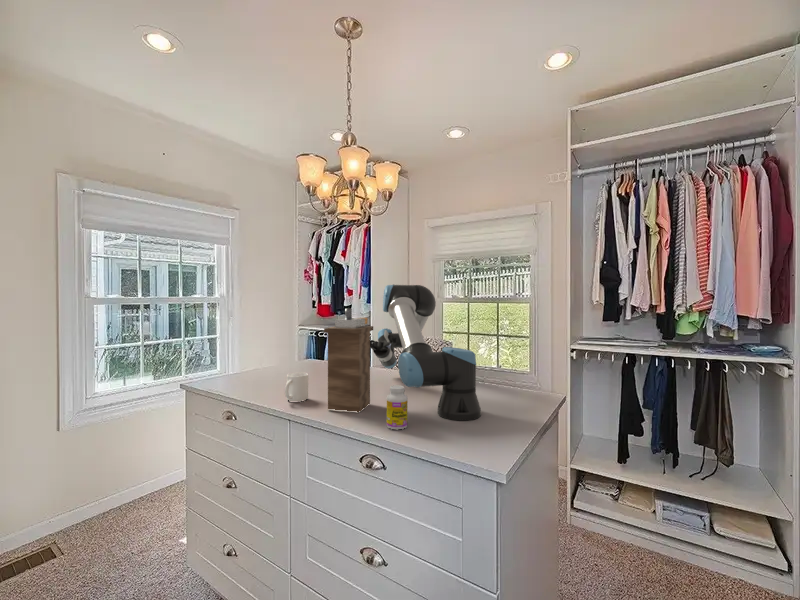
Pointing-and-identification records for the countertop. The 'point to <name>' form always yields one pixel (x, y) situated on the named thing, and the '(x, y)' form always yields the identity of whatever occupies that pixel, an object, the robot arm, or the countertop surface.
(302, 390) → the mug
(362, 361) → the post
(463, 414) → the robot arm
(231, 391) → the countertop surface
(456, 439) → the countertop surface
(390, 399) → the supplement bottle
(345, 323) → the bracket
